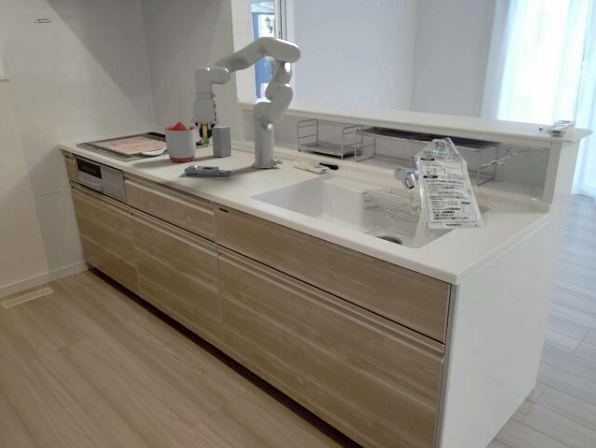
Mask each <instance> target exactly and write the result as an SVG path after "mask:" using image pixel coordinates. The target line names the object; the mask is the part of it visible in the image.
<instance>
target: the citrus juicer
mask: <svg viewBox="0 0 596 448" xmlns="http://www.w3.org/2000/svg"><path fill="white" fill-rule="evenodd" d="M164 134H165V145H166V146H165V148H166V147H167V149H166V150H167V155H168V157H169V159H170V161H171V162H176V163H177V162H178V163H187V162H191V161H193V160H194V158H195V155H196V149H197V139H196V126H193V125H191V126H190V127H189V129H187V127H186V126H185V125H184V123H183V122H181V121H178V122H177V123H176V124H175V125H169V126H165V127H164Z"/></svg>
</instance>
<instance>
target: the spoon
mask: <svg viewBox="0 0 596 448" xmlns="http://www.w3.org/2000/svg"><path fill="white" fill-rule="evenodd" d="M166 150H167V147H166V146H165V147H164V148H160V149H158V150H157V149H156V150H152V151H142V152H141V154H142V155H144V156H149V157H155V156H159V155H161V154H162V153H164V151H166Z"/></svg>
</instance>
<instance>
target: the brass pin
mask: <svg viewBox="0 0 596 448" xmlns="http://www.w3.org/2000/svg"><path fill="white" fill-rule="evenodd" d="M201 124H202V136H203V137H202V144H203V145H207V144H210V138H208V133H207V130H208V123H207V122H201Z"/></svg>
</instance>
